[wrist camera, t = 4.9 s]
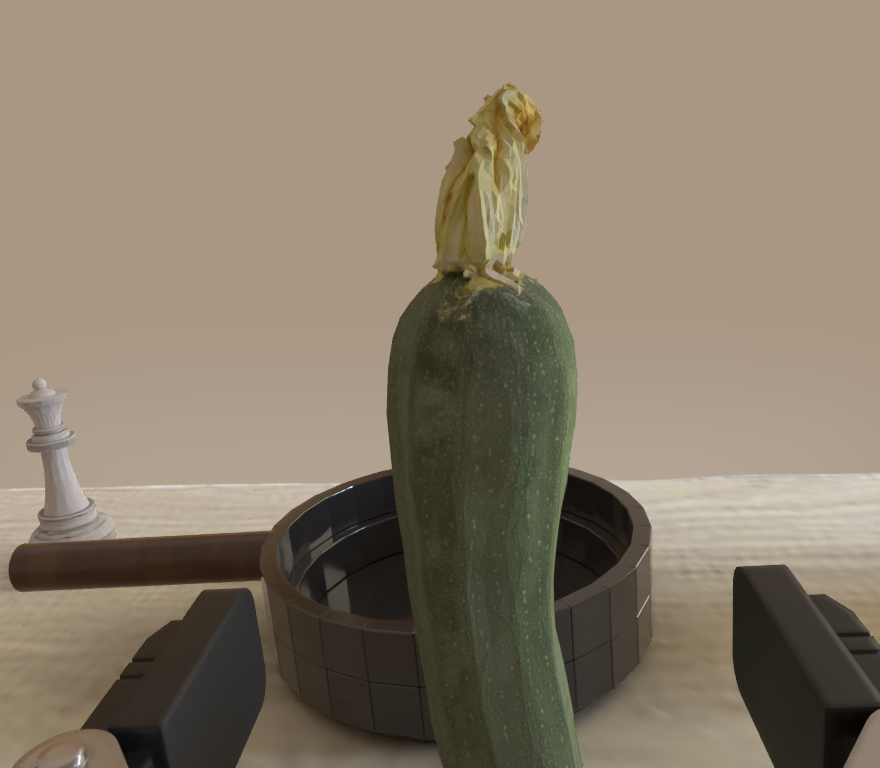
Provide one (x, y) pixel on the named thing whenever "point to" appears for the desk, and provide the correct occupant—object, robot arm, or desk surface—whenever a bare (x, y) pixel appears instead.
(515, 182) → the vegetable
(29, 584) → the pan handle
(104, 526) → the chess piece
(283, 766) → the desk surface
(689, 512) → the desk surface
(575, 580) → the pan
